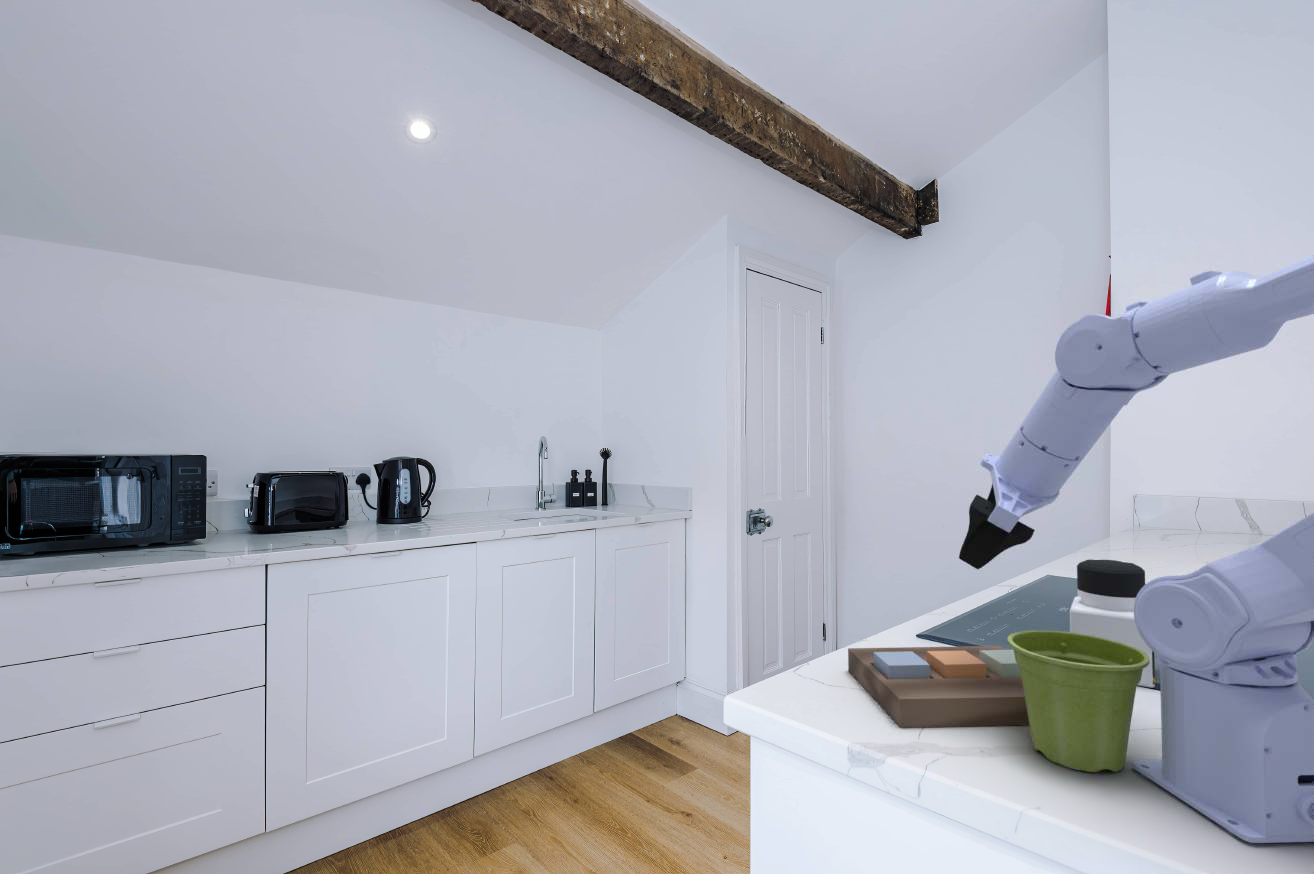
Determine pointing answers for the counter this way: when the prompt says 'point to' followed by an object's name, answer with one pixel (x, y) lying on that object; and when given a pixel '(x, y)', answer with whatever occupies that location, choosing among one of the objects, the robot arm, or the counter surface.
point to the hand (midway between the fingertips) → (979, 543)
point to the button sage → (1000, 662)
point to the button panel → (941, 693)
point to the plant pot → (1078, 695)
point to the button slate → (901, 665)
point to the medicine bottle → (1110, 606)
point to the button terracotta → (956, 664)
